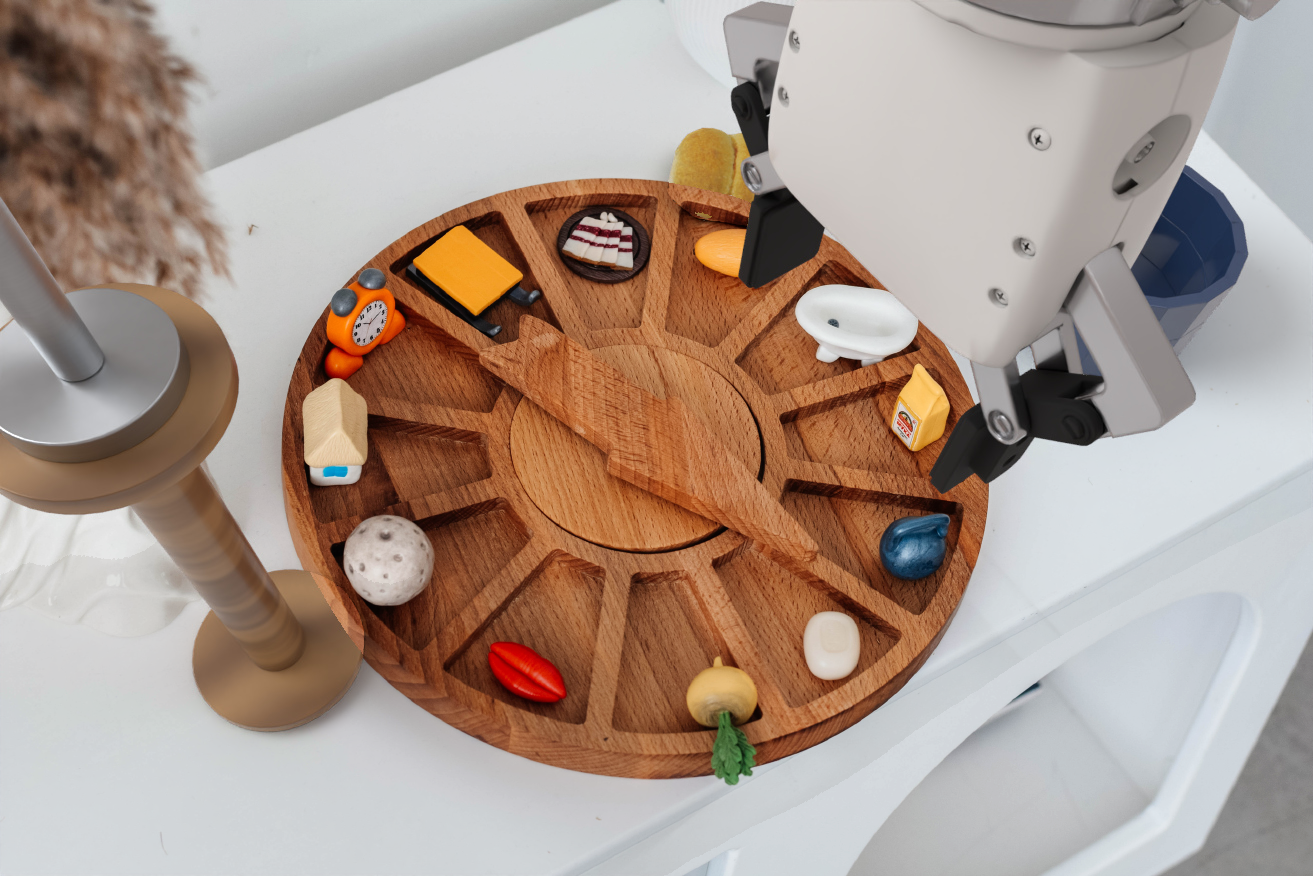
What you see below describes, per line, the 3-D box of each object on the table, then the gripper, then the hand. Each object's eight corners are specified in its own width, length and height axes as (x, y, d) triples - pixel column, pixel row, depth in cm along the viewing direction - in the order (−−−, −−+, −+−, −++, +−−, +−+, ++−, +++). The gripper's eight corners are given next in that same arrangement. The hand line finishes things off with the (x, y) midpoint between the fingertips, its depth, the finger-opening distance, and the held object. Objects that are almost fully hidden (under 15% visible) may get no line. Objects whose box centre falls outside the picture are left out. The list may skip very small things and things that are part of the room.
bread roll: (786, 239, 76) (795, 199, 73) (661, 222, 77) (664, 181, 73) (794, 156, 81) (803, 115, 77) (675, 140, 81) (679, 98, 77)
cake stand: (394, 670, 59) (275, 415, 37) (239, 766, 56) (6, 551, 34) (319, 546, 62) (169, 245, 40) (169, 630, 59) (-83, 354, 37)
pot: (1227, 323, 75) (1291, 245, 68) (1094, 415, 70) (1148, 342, 63) (1082, 200, 80) (1128, 117, 73) (950, 278, 75) (986, 197, 68)
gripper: (1547, 47, 19) (1136, 495, 34) (903, -357, 26) (791, 161, 41) (1292, 216, 17) (966, 622, 32) (652, -279, 24) (629, 243, 38)
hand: (868, 361), depth 36 cm, fingers open, 9 cm apart
